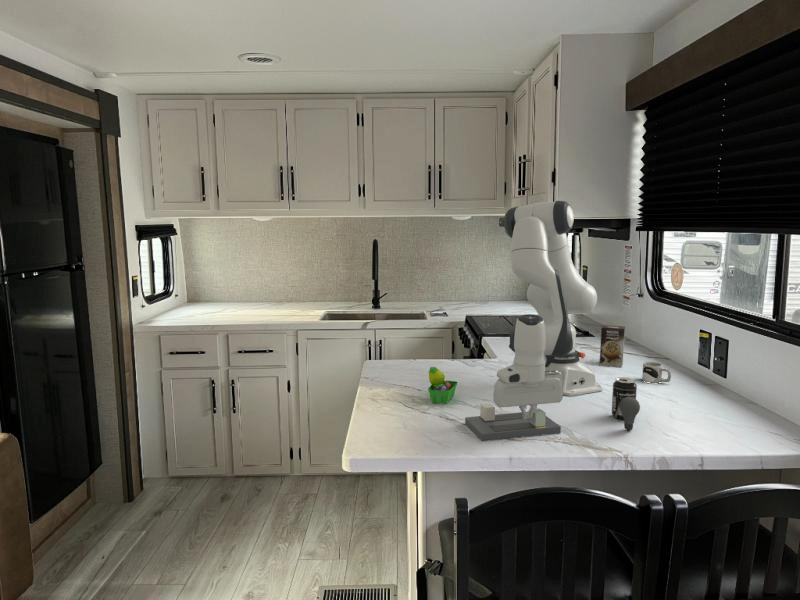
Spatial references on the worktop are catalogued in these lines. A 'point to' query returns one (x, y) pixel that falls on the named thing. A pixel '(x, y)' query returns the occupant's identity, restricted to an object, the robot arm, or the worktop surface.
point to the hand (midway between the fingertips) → (527, 418)
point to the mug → (654, 372)
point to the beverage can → (622, 394)
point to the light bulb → (629, 411)
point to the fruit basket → (440, 387)
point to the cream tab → (487, 412)
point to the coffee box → (612, 346)
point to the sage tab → (538, 418)
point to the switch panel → (508, 427)
